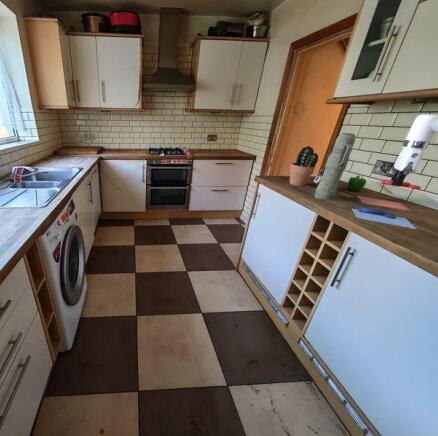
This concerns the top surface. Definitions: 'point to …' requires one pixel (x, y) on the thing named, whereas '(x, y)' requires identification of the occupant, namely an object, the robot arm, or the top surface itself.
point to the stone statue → (335, 166)
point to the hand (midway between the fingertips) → (394, 184)
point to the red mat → (384, 203)
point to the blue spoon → (377, 212)
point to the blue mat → (383, 219)
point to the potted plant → (303, 166)
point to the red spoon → (404, 184)
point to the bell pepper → (356, 183)
